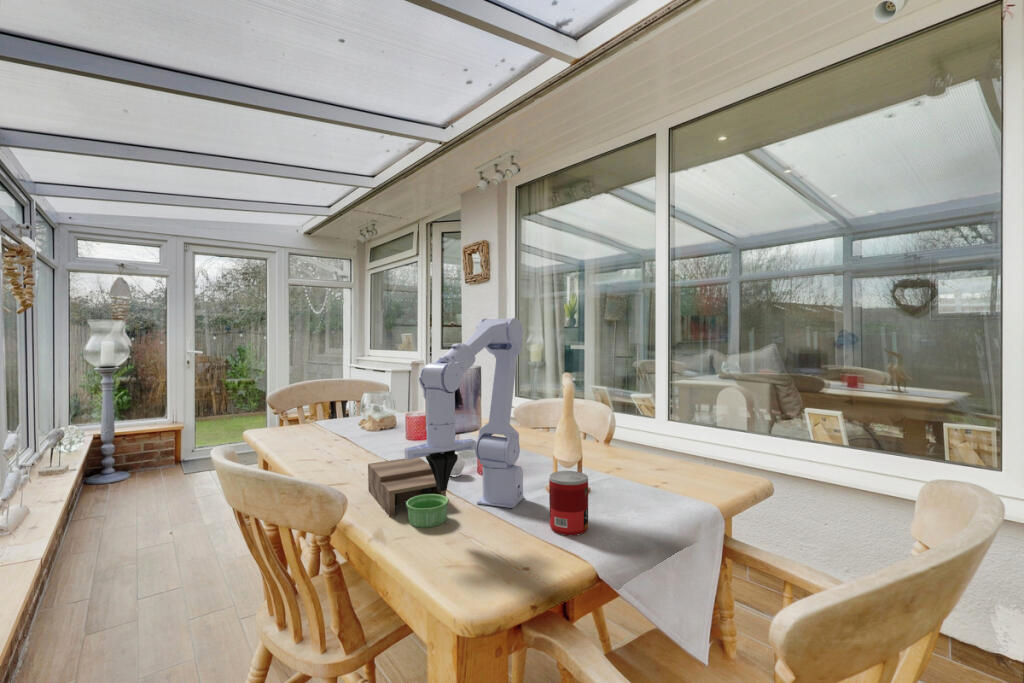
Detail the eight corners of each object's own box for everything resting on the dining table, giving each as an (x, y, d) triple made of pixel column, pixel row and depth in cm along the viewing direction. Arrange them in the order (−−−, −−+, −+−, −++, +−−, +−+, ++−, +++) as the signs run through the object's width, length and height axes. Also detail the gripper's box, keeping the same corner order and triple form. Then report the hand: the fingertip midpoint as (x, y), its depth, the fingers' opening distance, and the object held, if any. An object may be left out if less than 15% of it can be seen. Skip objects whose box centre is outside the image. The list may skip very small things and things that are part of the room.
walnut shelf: (446, 505, 113) (445, 476, 112) (389, 517, 106) (389, 485, 106) (418, 482, 130) (418, 456, 130) (368, 490, 123) (368, 463, 123)
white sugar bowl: (467, 472, 138) (466, 448, 138) (462, 479, 132) (462, 454, 132) (446, 472, 139) (445, 448, 139) (440, 478, 133) (440, 453, 132)
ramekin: (455, 515, 107) (455, 496, 107) (435, 532, 98) (435, 510, 98) (420, 510, 110) (420, 491, 110) (398, 526, 101) (398, 505, 101)
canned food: (593, 534, 96) (593, 480, 96) (554, 537, 95) (554, 483, 95) (581, 519, 104) (581, 469, 103) (545, 522, 102) (545, 471, 102)
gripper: (465, 415, 103) (465, 478, 103) (399, 423, 96) (400, 490, 96) (480, 421, 97) (480, 487, 97) (411, 429, 89) (412, 501, 90)
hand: (441, 489), depth 96 cm, fingers closed
